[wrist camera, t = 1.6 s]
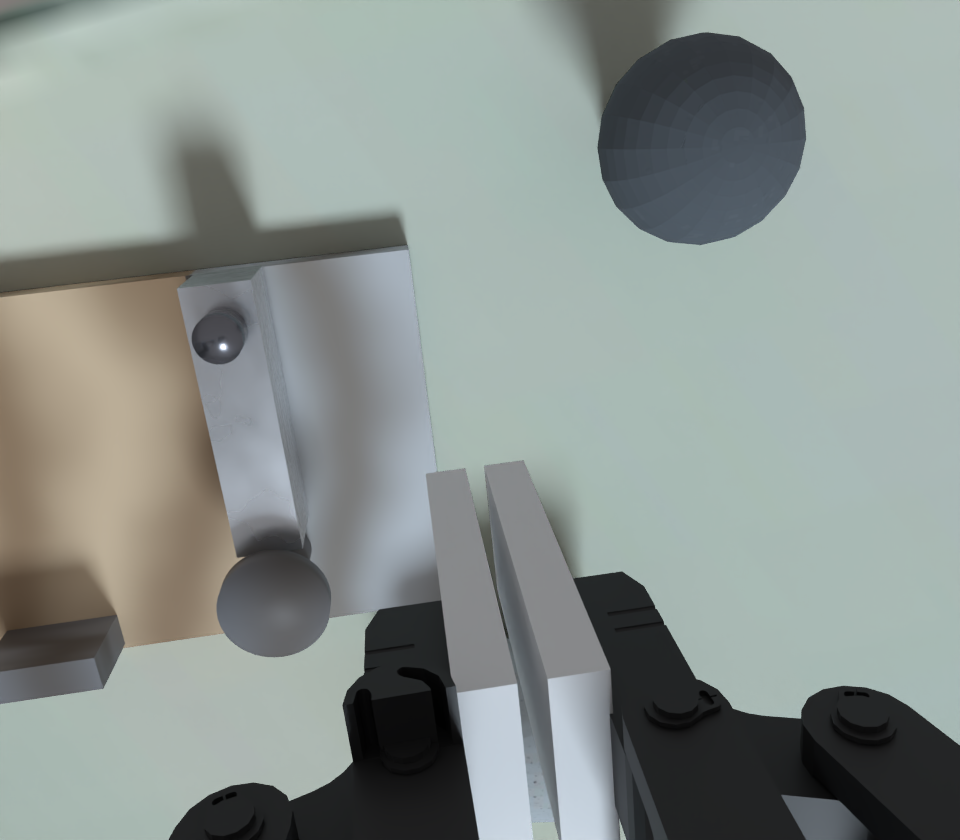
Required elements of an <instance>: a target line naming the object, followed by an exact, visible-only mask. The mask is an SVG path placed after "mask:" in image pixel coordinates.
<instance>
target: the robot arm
mask: <svg viewBox="0 0 960 840" xmlns="http://www.w3.org/2000/svg"><path fill="white" fill-rule="evenodd" d="M484 470H485V479H486V488H487V498H488V507H489V516H490V526H491V535H492V545H493V554H494V563H495V573H496V582H497V591H498V595H499V599H500V603H501V607H502V611H503V615H504V619H505V623H506V627H507V631H508V635H509V639H510V643H511V647H512V651H513V655H514V660H515V664H516V668H517V672H518V676H519V680H520V684H521V688H522V692H523V696H524V700H525V704H526V708H527V712H528V716H529V720H530V724H531V728H532V732H533V736H534V740H535V744H536V749H537V753H538V757H539V761H540V765H541V769H542V773H543V777H544V781H545V785H546V789H547V793H548V797H549V801H550V805H551V809H552V813H553V817H554V821H555V825H556V829H557V834H558V838H559V840H620V827H619V819H620V822H621V825H622V828H623V831H624V834H625V836H626V839H627V840H960V745H958V744H957V743H956V742H954V741H953V740H952V739H951V738H949V737H948V736H947V735H945V734H944V733H943V732H941V731H940V730H939V729H938V728H936V727H935V726H934V725H932V724H931V723H930V722H929V721H927V720H926V719H925V718H923V717H922V716H921V715H919V714H918V713H917V712H916V711H914V710H913V709H912V708H910V707H909V706H908V705H906V704H904V703H902V702H901V701H899V700H897V699H896V698H894V697H892V696H890V695H889V694H885V693H882V692H879V691H875V690H872V689H869V688H864V687H851V686H840V687H834V688H828V689H823V690H821V691H819V692H818V693H816V694H814V695H812V696H811V697H809V698H808V700H807V701H806V703H805V705H804V707H803V708H802V712H801V719H797V718H784V717H771V716H761V715H755V714H748V713H745V712H741V711H738V710H735V709H733V708H732V707H731V705H730V703H729V702H728V700H727V699H726V698H725V697H724V696H723V695H722V694H721V693H720V692H719V690H718V689H716V688H714V687H712V686H710V685H708V684H706V683H705V682H703V681H701V680H697V679H696V678H695V676H694V674H693V673H692V671H691V669H690V667H689V665H688V664H687V662H686V660H685V658H684V657H683V655H682V653H681V651H680V649H679V648H678V646H677V644H676V642H675V641H674V639H673V637H672V635H671V633H670V632H669V630H668V628H667V626H666V625H664V621H663V619H662V617H661V616H660V614H659V612H658V610H657V609H655V605H654V603H653V601H652V600H651V598H650V596H649V594H648V593H647V591H646V589H645V587H644V586H643V585H641V584H640V583H638V582H637V581H635V580H634V579H632V578H631V577H629V576H628V575H626V574H625V573H623V572H616V573H609V574H602V575H595V576H588V577H581V578H574V579H573V578H572V576H571V573H570V571H569V568H568V566H567V564H566V561H565V559H564V556H563V554H562V552H561V549H560V547H559V544H558V542H557V540H556V537H555V535H554V532H553V530H552V528H551V525H550V523H549V520H548V518H547V516H546V513H545V511H544V508H543V506H542V504H541V501H540V499H539V496H538V494H537V492H536V489H535V487H534V484H533V482H532V480H531V477H530V475H529V472H528V470H527V468H526V465H525V463H524V460H522V461H515V462H508V463H500V464H493V465H486V466H484ZM426 482H427V490H428V498H429V506H430V514H431V522H432V529H433V537H434V545H435V553H436V561H437V569H438V577H439V585H440V593H441V600H440V601H433V602H426V603H419V604H412V605H405V606H399V607H392V608H385V609H379V610H378V612H377V613H376V615H375V616H374V618H373V619H372V621H371V622H370V624H369V625H368V627H367V628H366V630H365V660H364V671H365V673H364V675H363V676H361V677H359V678H358V680H357V681H356V682H355V683H354V684H353V685H352V686H351V687H350V688H349V689H348V690H347V693H346V696H345V699H344V702H343V710H344V716H345V721H346V726H347V731H348V737H349V742H350V747H351V753H352V758H353V762H352V763H351V765H350V766H349V767H348V768H347V769H346V770H345V771H344V772H343V773H342V774H341V775H339V776H338V777H337V778H335V779H334V780H333V781H332V782H330V783H328V784H327V785H325V786H323V787H321V788H319V789H317V790H315V791H313V792H310V793H308V794H306V795H303V796H301V797H298V798H296V799H294V800H291V801H289V800H288V798H287V795H285V794H284V793H282V792H281V791H279V790H278V789H277V788H275V787H274V786H270V785H264V784H259V783H248V784H241V785H234V786H230V787H227V788H225V789H223V790H220V791H218V792H215V793H213V794H210V795H209V796H207V797H206V798H204V799H203V800H202V801H200V802H199V803H198V804H196V805H195V806H194V807H192V808H191V809H189V811H188V812H187V813H186V815H185V816H184V817H183V818H182V820H181V821H180V822H179V823H178V825H177V826H176V827H175V829H174V831H173V833H172V834H171V836H170V838H169V840H533V834H532V824H531V814H530V804H529V794H528V784H527V775H526V765H525V755H524V745H523V735H522V726H521V716H520V706H519V696H518V686H517V681H516V677H515V672H514V668H513V664H512V660H511V656H510V652H509V648H508V643H507V639H506V635H505V631H504V627H503V623H502V619H501V614H500V610H499V606H498V602H497V598H496V594H495V590H494V585H493V581H492V577H491V573H490V569H489V565H488V561H487V556H486V552H485V548H484V544H483V540H482V536H481V532H480V527H479V523H478V519H477V515H476V511H475V507H474V503H473V498H472V494H471V490H470V486H469V482H468V478H467V474H466V469H465V468H464V469H456V470H449V471H441V472H434V473H427V474H426Z"/></svg>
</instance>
